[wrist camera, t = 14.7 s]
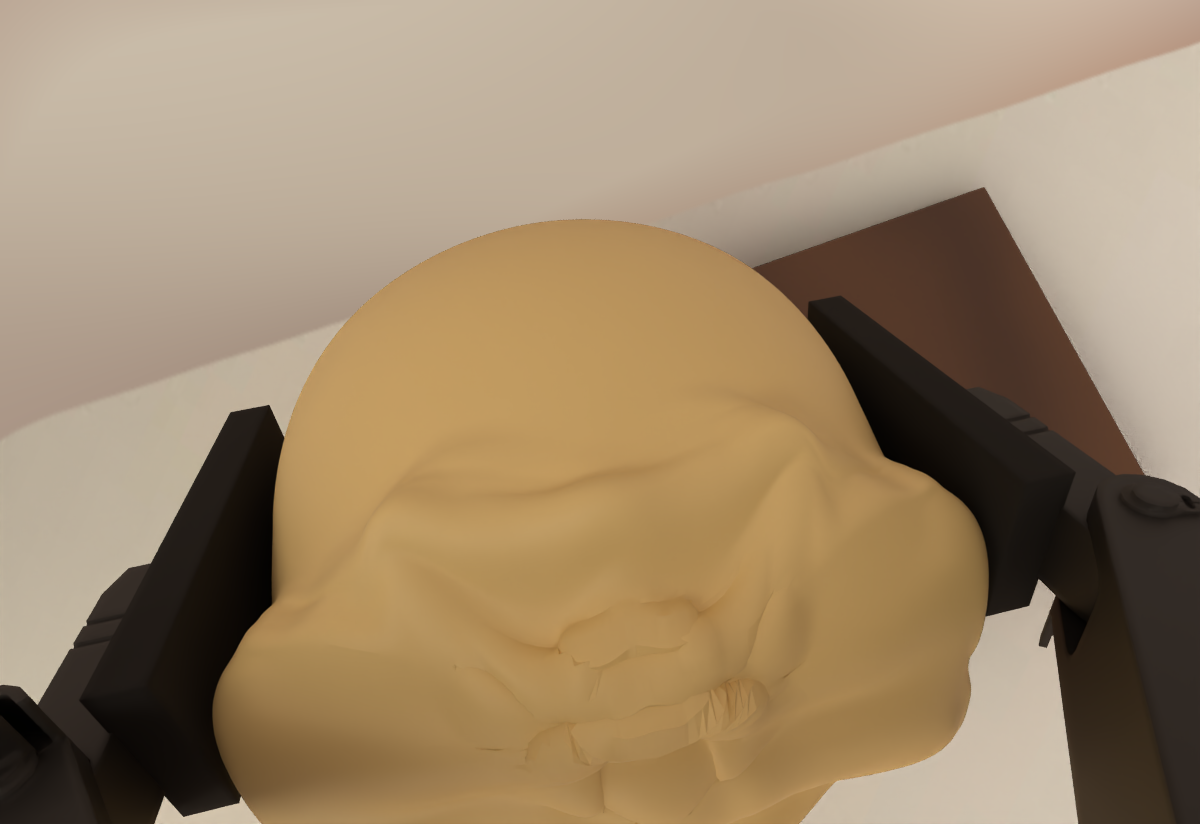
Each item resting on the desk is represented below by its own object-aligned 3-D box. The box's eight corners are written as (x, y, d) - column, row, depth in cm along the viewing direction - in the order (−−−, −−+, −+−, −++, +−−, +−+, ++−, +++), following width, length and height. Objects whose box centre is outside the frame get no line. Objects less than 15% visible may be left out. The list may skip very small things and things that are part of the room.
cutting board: (474, 816, 25) (468, 832, 23) (347, 421, 28) (335, 413, 26) (1138, 520, 29) (1169, 518, 27) (965, 203, 32) (984, 186, 30)
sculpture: (405, 827, 16) (127, 1295, 6) (336, 370, 19) (54, 127, 8) (840, 710, 18) (1252, 928, 7) (722, 294, 20) (897, -2, 10)
